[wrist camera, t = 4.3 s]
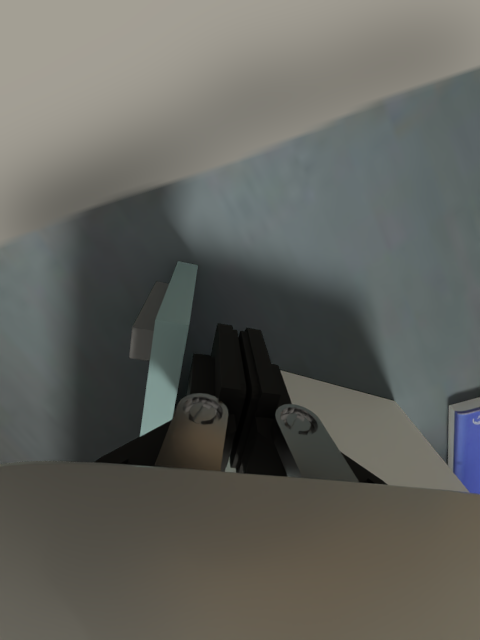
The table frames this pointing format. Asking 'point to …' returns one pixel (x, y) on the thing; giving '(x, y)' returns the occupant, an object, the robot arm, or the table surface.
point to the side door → (163, 342)
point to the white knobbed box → (373, 434)
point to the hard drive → (465, 443)
